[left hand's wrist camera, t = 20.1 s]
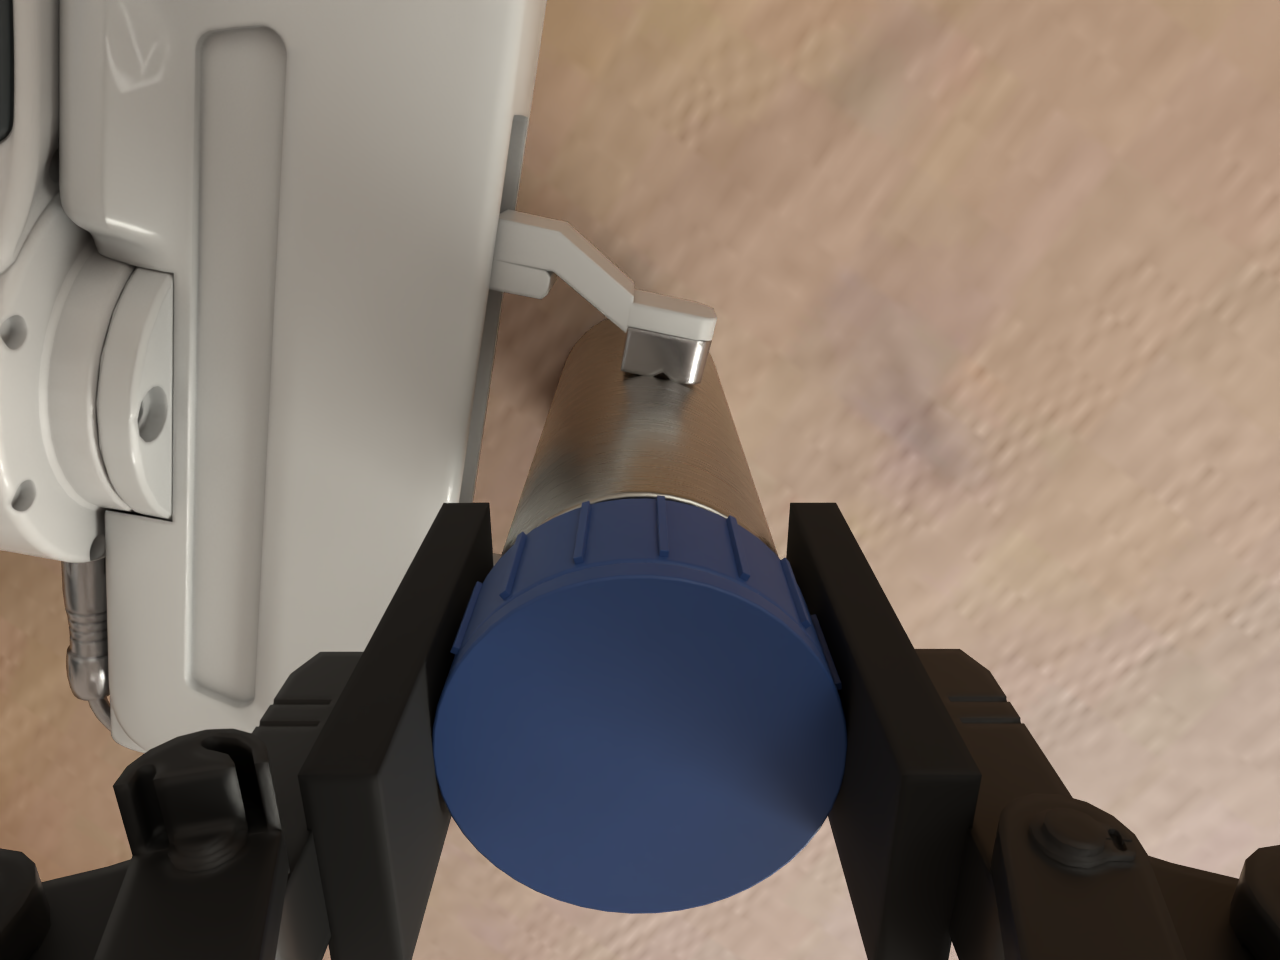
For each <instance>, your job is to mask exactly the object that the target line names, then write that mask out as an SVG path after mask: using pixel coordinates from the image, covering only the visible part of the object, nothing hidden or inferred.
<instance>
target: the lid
mask: <svg viewBox="0 0 1280 960" xmlns="http://www.w3.org/2000/svg"><path fill="white" fill-rule="evenodd" d="M450 652H451V653H453V654H455V657H454V659H453V662H452V665H451V668H450V671H449V673H448V676H447V679H446V682H445V685H444V687H443V690H442V693H441V696H440V699H439V701H438V704H437V708H436V713H435V718H434V723H433V730H432V747H433V757H434V766H435V775H436V778H437V781H438V785H439V788H440V791H441V795H442V797H443V799H444V801H445V803H446V806H447V808H448V810H449V812H450V814H451V816H452V817H453V819H454V820H455V822H456V823H457V825H458V826H459V828H460V829H461V831H462V833H463V834H464V835H465V836H466V837H467V839H468V840H469V841H470V842H471V843H472V844H473V845H474V847H475V848H476V849H477V850H478V851H479V852H480V853H481V854H482V855H483V856H485V857H486V858H487V859H488V860H489V861H490V862H491V863H492V864H494V865H495V866H496V867H497V868H499V869H500V870H502V871H503V872H505V873H506V874H507V875H509V876H510V877H512V878H513V879H515V880H516V881H518V882H520V883H522V884H524V885H526V886H528V887H529V888H531V889H533V890H535V891H537V892H540V893H542V894H544V895H547V896H549V897H552V898H554V899H557V900H560V901H563V902H567V903H570V904H573V905H577V906H580V907H585V908H590V909H596V910H601V911H607V912H619V913H661V912H670V911H679V910H684V909H689V908H694V907H698V906H703V905H707V904H710V903H713V902H716V901H719V900H722V899H725V898H728V897H730V896H733V895H735V894H737V893H739V892H742V891H744V890H746V889H748V888H751V887H752V886H754V885H756V884H757V883H759V882H761V881H763V880H764V879H766V878H768V877H769V876H771V875H772V874H774V873H775V872H776V871H778V870H779V869H780V868H782V867H783V866H784V865H786V864H787V863H788V862H790V861H791V860H792V859H793V858H794V857H795V856H796V855H797V854H798V853H799V852H800V851H801V850H802V849H803V848H804V847H805V846H806V845H807V844H808V843H809V842H810V840H811V839H812V838H813V837H814V835H815V834H816V833H817V832H818V830H819V829H820V828H821V826H822V824H823V823H824V821H825V819H826V818H827V816H828V814H829V813H830V811H831V809H832V807H833V805H834V802H835V800H836V797H837V795H838V793H839V790H840V788H841V784H842V780H843V775H844V770H845V761H846V751H847V727H846V719H845V715H844V711H843V707H842V703H841V699H840V696H839V693H838V690H841V689H842V684H841V681H840V678H839V675H838V673H837V670H836V667H835V664H834V662H833V659H832V656H831V654H830V651H829V648H828V646H827V643H826V640H825V638H824V635H823V632H822V629H821V627H820V624H819V621H818V619H817V616H816V614H814V615H810V612H809V610H808V607H807V604H806V602H805V600H804V597H803V595H802V592H801V590H800V588H799V586H798V584H797V582H796V580H795V577H794V574H793V571H792V568H791V566H790V563H789V561H788V560H787V559H786V558H784V559H782V560H780V559H779V558H778V556H777V555H776V554H775V553H774V552H773V551H772V550H771V549H770V548H769V547H768V546H766V545H765V544H764V543H763V542H762V541H761V540H760V539H759V538H757V537H756V536H755V535H753V534H752V533H750V532H749V531H747V530H746V529H744V528H743V527H742V526H740V525H738V524H737V520H736V518H735V517H733V516H731V515H729V516H728V518H725V517H723V516H721V515H719V514H716V513H713V512H710V511H708V510H705V509H702V508H699V507H697V506H692V505H688V504H684V503H679V502H675V501H668V500H665V496H660V495H657V499H648V498H645V499H620V500H613V501H606V502H599V503H595V504H590V501H586V502H583V503H582V505H581V507H580V508H577V509H574V510H571V511H569V512H567V513H564V514H562V515H559V516H557V517H554V518H552V519H551V520H549V521H547V522H545V523H544V524H542V525H540V526H538V527H536V528H535V529H533V530H532V531H530V532H529V533H528V534H527V535H526V534H525V533H524V532H521V533H520V534H518V535H517V538H516V541H515V544H514V545H513V546H512V547H511V548H510V549H509V550H508V551H507V552H506V553H505V554H504V555H503V556H502V557H501V558H500V559H499V560H498V562H497V563H496V564H495V566H494V567H493V568H492V570H491V571H490V572H489V573H488V575H487V576H486V578H485V580H484V582H483V583H480V582H478V581H477V583H476V584H475V586H474V589H473V592H472V594H471V597H470V600H469V602H468V605H467V608H466V611H465V613H464V616H463V619H462V621H461V624H460V627H459V629H458V632H457V635H456V638H455V640H454V643H453V646H452V648H451V651H450Z"/></svg>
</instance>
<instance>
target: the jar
mask: <svg viewBox="0 0 1280 960" xmlns="http://www.w3.org/2000/svg"><path fill="white" fill-rule="evenodd" d="M625 334H626V333H625V332H624V331H623V330H621V329H620V328H619V327H618V326H617V325H616V324H614V323H613V322H612V321H611V320H610V319H607V320H604V321H602V322H600V323H599V324H597V325H595V326H594V327H592V328H591V329H590V330H589V331H587V332H586V333H585V334H584V335H583V336H582V337H581V338H580V339H579V340H578V342H577V343H576V344H575V346H574V347H573V348H572V350H571V352H570V354H569V356H568V357H567V360H566V363H565V365H564V368H563V371H562V374H561V377H560V380H559V383H558V386H557V389H556V392H555V395H554V398H553V401H552V404H551V407H550V410H549V413H548V416H547V419H546V422H545V425H544V428H543V431H542V434H541V437H540V440H539V443H538V447H537V450H536V453H535V456H534V459H533V462H532V465H531V468H530V471H529V474H528V477H527V480H526V483H525V486H524V489H523V492H522V495H521V498H520V501H519V504H518V507H517V510H516V513H515V516H514V519H513V522H512V525H511V528H510V531H509V534H508V537H507V540H506V543H505V546H504V549H503V552H502V555H501V557H502V556H503V555H504V554H505V553H506V552H507V551H508V550H509V549H510V548H511V547H512V546H513V545H514V544H515V541H516V538H517V535H518V534H520V533H521V532H524V533H525V534H526V535H527V534H528V533H529V532H530V531H532V530H533V529H535V528H536V527H538V526H540V525H542V524H544V523H545V522H547V521H549V520H551V519H552V518H554V517H557V516H559V515H562V514H564V513H567V512H569V511H571V510H574V509H577V508H580V507H581V505H582V503H583V502H586V501H590V504H595V503H599V502H606V501H613V500H620V499H645V498H648V499H657V495H660V496H665V500H668V501H675V502H679V503H684V504H688V505H692V506H697V507H699V508H702V509H705V510H708V511H710V512H713V513H716V514H719V515H721V516H723V517H725V518H728V516H729V515H731V516H733V517H735V518H736V520H737V524H738V525H740V526H742V527H743V528H744V529H746V530H747V531H749V532H750V533H752V534H753V535H755V536H756V537H757V538H759V539H760V540H761V541H762V542H763V543H764V544H765V545H766V546H768V547H769V548H770V549H771V550H772V551H773V552H774V553H775V554H776V555H777V556H778V554H777V551H776V548H775V545H774V542H773V539H772V536H771V533H770V530H769V527H768V524H767V521H766V518H765V515H764V512H763V509H762V506H761V503H760V500H759V497H758V494H757V491H756V488H755V485H754V482H753V479H752V476H751V473H750V470H749V467H748V464H747V461H746V458H745V455H744V452H743V449H742V446H741V443H740V440H739V436H738V433H737V430H736V427H735V424H734V421H733V418H732V415H731V412H730V409H729V406H728V403H727V400H726V397H725V394H724V391H723V388H722V385H721V382H720V379H719V376H718V373H717V370H716V367H715V364H714V362H713V359H712V357H711V355H710V353H708V357H707V361H706V365H705V368H704V372H703V376H702V380H701V383H699V384H694V385H692V384H683V383H679V382H676V381H673V380H670V379H669V378H668V377H667V376H666V375H665V373H664V372H662V373H660V374H657V375H655V376H643V375H639V374H634V373H629V372H624V371H621V361H622V350H623V345H624V339H625ZM778 558H779V557H778Z"/></svg>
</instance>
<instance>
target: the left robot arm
mask: <svg viewBox="0 0 1280 960" xmlns="http://www.w3.org/2000/svg"><path fill="white" fill-rule="evenodd" d="M786 559H787V560H788V561H789V563H790V566H791V568H792V571H793V574H794V577H795V580H796V582H797V584H798V586H799V588H800V590H801V592H802V595H803V597H804V600H805V602H806V604H807V607H808V610H809V612H810V615H814V614H816V616H817V619H818V621H819V624H820V627H821V629H822V632H823V635H824V638H825V640H826V643H827V646H828V648H829V651H830V654H831V656H832V659H833V662H834V664H835V667H836V670H837V673H838V675H839V678H840V681H841V684H842V689H841V690H838V693H839V696H840V699H841V703H842V707H843V711H844V715H845V719H846V727H847V751H846V761H845V770H844V775H843V780H842V784H841V788H840V790H839V793H838V795H837V797H836V800H835V802H834V805H833V807H832V809H831V811H830V813H829V814H828V818H829V821H830V825H831V828H832V832H833V836H834V839H835V843H836V846H837V850H838V854H839V857H840V861H841V865H842V868H843V872H844V875H845V879H846V883H847V886H848V890H849V893H850V897H851V901H852V904H853V908H854V911H855V915H856V919H857V922H858V926H859V929H860V933H861V937H862V940H863V944H864V948H865V951H866V955H867V958H868V960H948V958H949V953H950V947H951V942H952V943H953V946H954V948H955V951H956V953H957V956H958V958H959V960H1280V845H1276V846H1270V847H1264V848H1259V849H1257V850H1256V851H1255V852H1254V853H1253V854H1252V855H1251V856H1249V857H1248V858H1247V859H1246V860H1245V863H1244V866H1243V869H1242V872H1241V875H1240V878H1239V879H1237V878H1233V877H1229V876H1224V875H1220V874H1216V873H1212V872H1207V871H1203V870H1199V869H1195V868H1190V867H1186V866H1182V865H1178V864H1174V863H1170V862H1167V861H1164V860H1160V859H1157V858H1154V857H1151V856H1148V855H1147V853H1146V851H1145V850H1144V848H1143V847H1142V845H1141V844H1140V842H1139V840H1138V839H1137V837H1136V836H1135V834H1134V833H1133V832H1131V831H1130V830H1129V829H1128V828H1127V827H1125V826H1124V825H1123V824H1122V823H1121V822H1120V821H1118V820H1117V819H1116V818H1115V817H1114V816H1112V815H1110V814H1108V813H1107V812H1105V811H1103V810H1101V809H1099V808H1097V807H1095V806H1093V805H1091V804H1089V803H1087V802H1084V801H1081V800H1077V799H1074V798H1072V796H1071V795H1070V793H1069V791H1068V790H1067V788H1066V787H1065V785H1064V784H1063V782H1062V781H1061V779H1060V778H1059V776H1058V775H1057V773H1056V772H1055V770H1054V769H1053V767H1052V766H1051V764H1050V762H1049V761H1048V759H1047V758H1046V756H1045V755H1044V753H1043V752H1042V750H1041V749H1040V747H1039V746H1038V744H1037V743H1036V741H1035V740H1034V738H1033V737H1032V735H1031V734H1030V732H1029V730H1028V729H1027V727H1026V726H1025V724H1021V722H1020V717H1019V715H1018V714H1017V712H1016V711H1015V709H1014V708H1013V706H1012V705H1011V703H1010V702H1007V700H1006V695H1005V694H1004V692H1003V691H1002V689H1001V688H1000V686H999V685H998V683H997V682H996V680H995V679H994V677H993V676H992V674H991V672H990V671H989V670H987V669H986V668H985V667H983V666H982V665H981V664H979V663H978V662H977V661H975V660H974V659H973V658H971V657H970V656H969V655H967V654H966V653H964V652H963V651H962V650H960V649H914V647H913V646H912V644H911V642H910V640H909V638H908V636H907V634H906V632H905V631H904V629H903V627H902V625H901V623H900V621H899V619H898V618H897V616H896V614H895V612H894V610H893V608H892V606H891V605H890V603H889V601H888V599H887V597H886V595H885V593H884V591H883V590H882V588H881V586H880V584H879V582H878V580H877V578H876V577H875V575H874V573H873V571H872V569H871V567H870V565H869V564H868V562H867V560H866V558H865V556H864V554H863V552H862V550H861V549H860V547H859V545H858V543H857V541H856V539H855V537H854V536H853V534H852V532H851V530H850V528H849V526H848V524H847V523H846V521H845V519H844V517H843V515H842V513H841V511H840V509H839V508H838V506H837V504H836V503H790V514H789V528H788V542H787V557H786ZM493 567H494V564H493V550H492V536H491V522H490V508H489V503H443V505H442V507H441V508H440V510H439V512H438V514H437V516H436V518H435V520H434V521H433V523H432V525H431V527H430V529H429V531H428V533H427V535H426V536H425V538H424V540H423V542H422V544H421V546H420V548H419V549H418V551H417V553H416V555H415V557H414V559H413V561H412V562H411V564H410V566H409V568H408V570H407V572H406V574H405V575H404V577H403V579H402V581H401V583H400V585H399V587H398V589H397V590H396V592H395V594H394V596H393V598H392V600H391V602H390V603H389V605H388V607H387V609H386V611H385V613H384V615H383V616H382V618H381V620H380V622H379V624H378V626H377V628H376V630H375V631H374V633H373V635H372V637H371V639H370V641H369V643H368V644H367V646H366V648H365V650H364V652H319V653H318V654H316V655H315V656H314V657H312V658H311V659H310V660H308V661H307V662H306V663H304V664H303V665H301V666H300V667H299V668H297V669H296V670H295V671H293V672H292V673H291V674H290V675H289V677H288V678H287V680H286V681H285V683H284V684H283V686H282V687H281V689H280V690H279V692H278V693H277V695H276V697H275V698H274V702H273V705H270V706H269V707H268V709H267V710H266V712H265V713H264V715H263V717H262V718H261V720H260V724H259V726H256V727H255V729H254V730H253V732H252V733H248V732H244V731H241V730H237V729H233V728H232V729H206V730H202V731H198V732H194V733H190V734H186V735H182V736H178V737H176V738H174V739H171V740H169V741H167V742H165V743H163V744H161V745H158V746H156V747H154V748H152V749H150V750H149V751H147V752H146V753H145V754H143V755H142V756H141V757H139V758H138V759H137V760H135V761H134V762H133V763H131V764H130V765H129V766H127V767H126V769H125V770H124V771H123V773H122V774H121V776H120V777H119V778H118V780H117V781H116V782H115V784H114V785H113V788H114V792H115V795H116V799H117V802H118V806H119V809H120V813H121V816H122V820H123V823H124V827H125V830H126V834H127V837H128V841H129V844H130V848H131V852H132V855H133V856H132V859H131V860H128V861H124V862H121V863H118V864H115V865H111V866H108V867H104V868H100V869H96V870H92V871H87V872H83V873H79V874H75V875H71V876H66V877H62V878H58V879H54V880H50V881H45V882H41V880H40V877H39V874H38V871H37V868H36V865H35V863H34V862H33V861H31V860H30V859H29V858H28V857H27V856H26V855H25V854H24V853H22V852H19V851H12V850H6V849H0V960H322V959H323V956H324V954H325V951H326V948H327V946H328V945H329V950H330V956H331V960H412V956H413V953H414V949H415V946H416V942H417V938H418V935H419V931H420V928H421V924H422V920H423V917H424V913H425V909H426V906H427V902H428V899H429V895H430V891H431V888H432V884H433V881H434V877H435V873H436V870H437V866H438V863H439V859H440V855H441V852H442V848H443V845H444V841H445V837H446V834H447V830H448V827H449V823H450V819H451V814H450V812H449V810H448V808H447V806H446V803H445V801H444V799H443V797H442V795H441V791H440V788H439V785H438V781H437V778H436V775H435V766H434V757H433V747H432V730H433V723H434V718H435V713H436V708H437V704H438V701H439V699H440V696H441V693H442V690H443V687H444V685H445V682H446V679H447V676H448V673H449V671H450V668H451V665H452V662H453V659H454V657H455V654H453V653H451V652H450V651H451V648H452V646H453V643H454V640H455V638H456V635H457V632H458V629H459V627H460V624H461V621H462V619H463V616H464V613H465V611H466V608H467V605H468V602H469V600H470V597H471V594H472V592H473V589H474V586H475V584H476V583H477V581H478V582H480V583H483V582H484V580H485V578H486V576H487V575H488V573H489V572H490V571H491V570H492V568H493Z"/></svg>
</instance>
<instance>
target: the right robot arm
mask: <svg viewBox="0 0 1280 960" xmlns="http://www.w3.org/2000/svg"><path fill="white" fill-rule="evenodd" d="M546 3H547V0H0V550H3V551H8V552H14V553H20V554H25V555H31V556H36V557H42V558H48V559H53V560H59V561H61V566H62V588H63V597H64V604H65V609H66V613H67V616H68V624H69V631H70V646H69V647H68V649H67V655H66V670H67V678H68V681H69V685H70V688H71V690H72V693H73V694H74V696H75V697H77V698H78V699H81V700H86V701H88V702H89V705H90V708H91V709H92V711H93V712H94V714H95V716H96V717H97V718H98V720H99V721H100V722H101V723H102V724H103V725H104V726H105V727H106V728H107V729H108V730H109V731H110V732H111V736H112V738H113V739H114V740H115V741H116V743H118V744H120V745H122V746H124V747H126V748H129V749H131V750H134V751H138V752H142V753H146V752H147V751H149V750H150V749H152V748H154V747H156V746H158V745H161V744H163V743H165V742H167V741H169V740H171V739H174V738H176V737H178V736H182V735H186V734H190V733H194V732H198V731H202V730H206V729H232V728H233V729H237V730H241V731H244V732H248V733H252V732H253V730H254V729H255V727H256V726H259V724H260V720H261V718H262V717H263V715H264V713H265V712H266V710H267V709H268V707H269V706H270V705H273V702H274V698H275V697H276V695H277V693H278V692H279V690H280V689H281V687H282V686H283V684H284V683H285V681H286V680H287V678H288V677H289V675H290V674H291V673H292V672H293V671H295V670H296V669H297V668H299V667H300V666H301V665H303V664H304V663H306V662H307V661H308V660H310V659H311V658H312V657H314V656H315V655H316V654H318V653H319V652H364V650H365V648H366V646H367V644H368V643H369V641H370V639H371V637H372V635H373V633H374V631H375V630H376V628H377V626H378V624H379V622H380V620H381V618H382V616H383V615H384V613H385V611H386V609H387V607H388V605H389V603H390V602H391V600H392V598H393V596H394V594H395V592H396V590H397V589H398V587H399V585H400V583H401V581H402V579H403V577H404V575H405V574H406V572H407V570H408V568H409V566H410V564H411V562H412V561H413V559H414V557H415V555H416V553H417V551H418V549H419V548H420V546H421V544H422V542H423V540H424V538H425V536H426V535H427V533H428V531H429V529H430V527H431V525H432V523H433V521H434V520H435V518H436V516H437V514H438V512H439V510H440V508H441V507H442V505H443V503H473V500H474V493H475V486H476V479H477V473H478V466H479V459H480V452H481V445H482V439H483V432H484V425H485V418H486V411H487V405H488V398H489V391H490V384H491V377H492V371H493V364H494V357H495V350H496V343H497V337H498V330H499V323H500V316H501V309H502V303H503V296H504V292H506V293H511V294H516V295H521V296H526V297H531V298H537V299H542V298H544V297H545V296H546V295H547V294H548V293H549V291H550V289H551V288H552V286H553V284H554V283H555V281H556V279H557V275H558V276H559V277H560V278H561V279H562V280H564V281H565V282H566V283H567V284H568V285H570V286H571V287H572V288H573V289H574V290H575V291H577V292H578V293H579V294H580V295H581V296H582V297H584V298H585V299H586V300H587V301H588V302H590V303H591V304H592V305H593V306H594V307H595V308H597V309H598V310H599V311H600V312H601V313H603V314H604V315H605V316H606V317H607V318H608V319H610V320H611V321H612V322H613V323H614V324H616V325H617V326H618V327H619V328H620V329H621V330H623V331H624V332H625V333H626V334H625V339H624V345H623V350H622V361H621V371H624V372H629V373H634V374H639V375H643V376H655V375H657V374H660V373H662V372H664V373H665V375H666V376H667V377H668V378H669V379H670V380H673V381H676V382H679V383H683V384H692V385H694V384H699V383H701V380H702V376H703V372H704V368H705V365H706V361H707V357H708V353H709V349H710V345H711V341H712V336H713V332H714V328H715V324H716V320H717V316H716V314H715V311H714V309H713V308H712V307H710V306H707V305H704V304H702V303H699V302H695V301H690V300H686V299H681V298H676V297H671V296H667V295H662V294H657V293H652V292H648V291H643V290H638V289H634V282H633V281H632V280H631V279H630V278H629V277H628V276H626V275H625V274H624V273H623V272H622V271H621V270H620V269H619V268H618V267H617V266H615V265H614V264H613V263H612V262H611V261H610V260H609V259H608V258H607V257H606V256H604V255H603V254H602V253H601V252H600V251H599V250H598V249H597V248H596V247H594V246H593V245H592V244H591V243H590V242H589V241H588V240H587V239H586V238H585V237H583V236H582V235H581V234H580V233H579V232H578V231H577V230H576V229H575V228H574V227H572V226H571V225H570V224H569V223H568V222H566V221H561V220H556V219H552V218H547V217H542V216H538V215H533V214H528V213H524V212H519V211H516V207H517V201H518V194H519V187H520V180H521V173H522V167H523V160H524V153H525V146H526V139H527V133H528V126H529V119H530V112H531V105H532V99H533V92H534V85H535V78H536V71H537V65H538V58H539V51H540V44H541V37H542V30H543V23H544V16H545V10H546ZM500 558H501V554H495V553H493V564H494V566H495V564H496V563H497V562H498V560H499V559H500ZM109 695H110V703H109V701H108V699H107V696H109Z"/></svg>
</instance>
